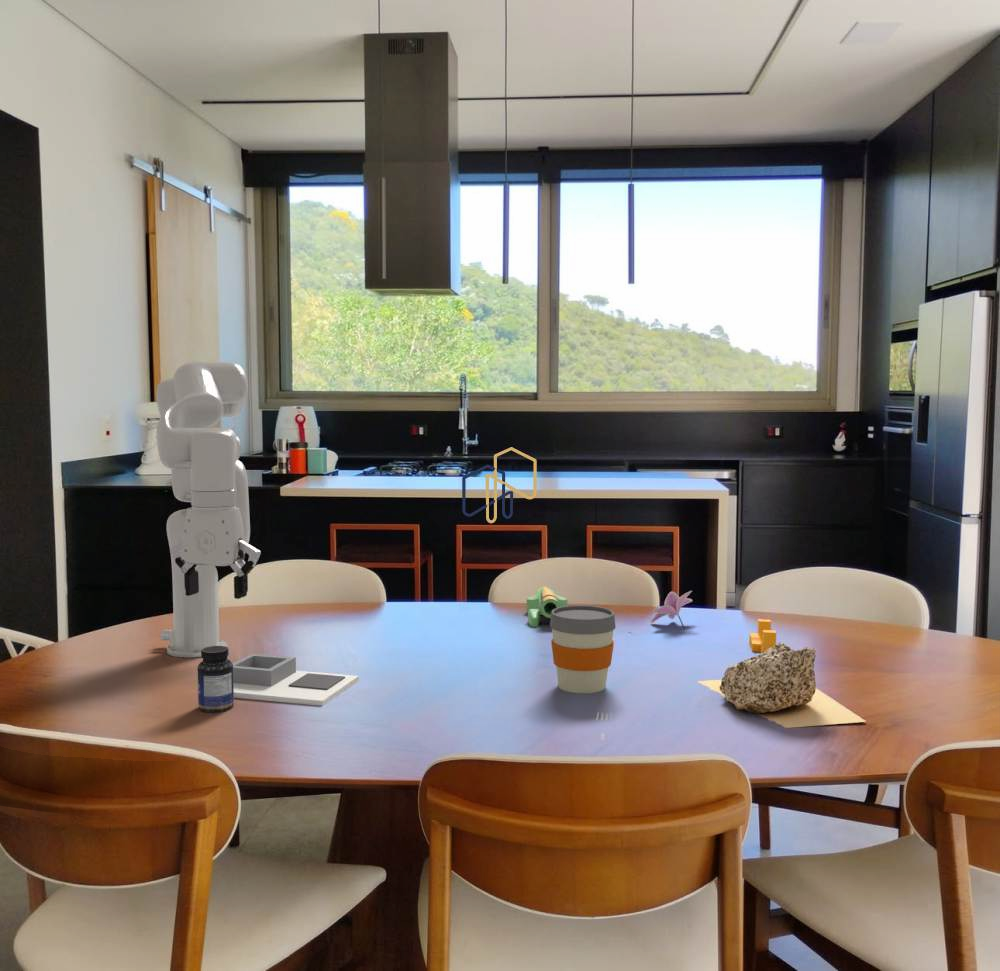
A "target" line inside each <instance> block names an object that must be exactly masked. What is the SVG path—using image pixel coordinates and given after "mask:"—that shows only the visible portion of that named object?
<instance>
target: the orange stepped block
mask: <svg viewBox="0 0 1000 971" xmlns="http://www.w3.org/2000/svg"><path fill="white" fill-rule="evenodd" d="M771 625H772V621H771V620H770V619H761V618H760V619H759V618H758V619H757V633H755V632H749V639H748V640H749V642H748V643H749V647H750V649H751V652H756V653H760V654H761V653H763V652H764V651H766V650H767V649H769V648H772V647H773V646H774V645H776V644H777V631H776V630H774V629H773V630H772V626H771Z"/></svg>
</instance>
